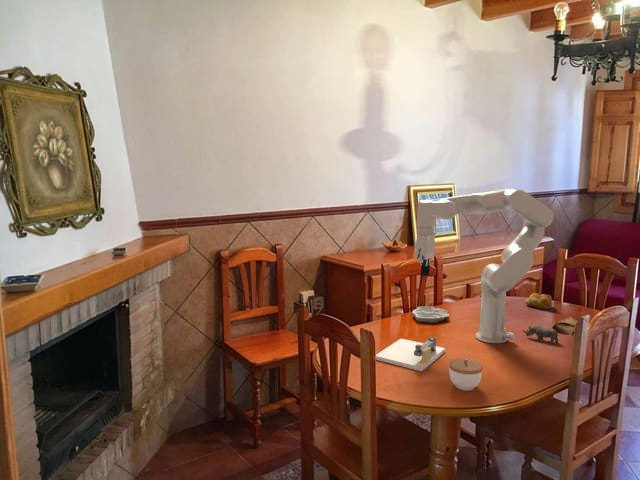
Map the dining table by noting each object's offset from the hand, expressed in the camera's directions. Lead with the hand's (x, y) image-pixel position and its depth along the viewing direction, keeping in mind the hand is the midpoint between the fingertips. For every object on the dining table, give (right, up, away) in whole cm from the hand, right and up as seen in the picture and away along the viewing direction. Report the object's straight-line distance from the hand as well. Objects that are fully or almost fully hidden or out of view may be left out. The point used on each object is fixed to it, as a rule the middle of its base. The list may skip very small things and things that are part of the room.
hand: (425, 274), depth 207 cm
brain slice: (+9, -23, +31) cm, 39 cm away
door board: (-9, -30, -15) cm, 35 cm away
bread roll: (+67, -20, +47) cm, 85 cm away
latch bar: (-4, -29, -19) cm, 35 cm away
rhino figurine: (+48, -27, +1) cm, 55 cm away
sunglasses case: (+67, -25, +14) cm, 73 cm away
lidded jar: (+5, -34, -41) cm, 54 cm away
